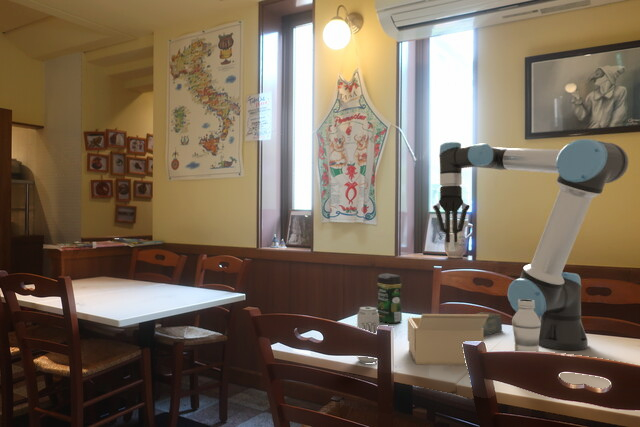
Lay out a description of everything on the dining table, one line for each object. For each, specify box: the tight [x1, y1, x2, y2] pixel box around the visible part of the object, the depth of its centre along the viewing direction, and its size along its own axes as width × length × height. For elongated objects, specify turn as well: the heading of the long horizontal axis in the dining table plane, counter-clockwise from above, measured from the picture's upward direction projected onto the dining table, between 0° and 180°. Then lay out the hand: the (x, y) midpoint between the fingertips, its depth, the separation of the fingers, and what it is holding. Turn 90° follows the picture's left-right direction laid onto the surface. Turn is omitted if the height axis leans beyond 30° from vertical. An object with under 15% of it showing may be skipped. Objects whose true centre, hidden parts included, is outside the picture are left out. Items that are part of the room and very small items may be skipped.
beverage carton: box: [476, 311, 503, 337], centre depth 167 cm, size 8×19×7 cm, turn 129°
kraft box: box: [407, 317, 484, 366], centre depth 138 cm, size 19×14×10 cm
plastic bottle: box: [511, 299, 541, 353], centre depth 118 cm, size 6×7×20 cm
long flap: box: [418, 313, 489, 330], centre depth 127 cm, size 17×9×1 cm
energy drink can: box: [356, 306, 380, 364], centre depth 134 cm, size 6×6×15 cm
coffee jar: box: [376, 272, 403, 324], centre depth 187 cm, size 10×8×19 cm
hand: (451, 251), depth 172 cm, fingers closed
